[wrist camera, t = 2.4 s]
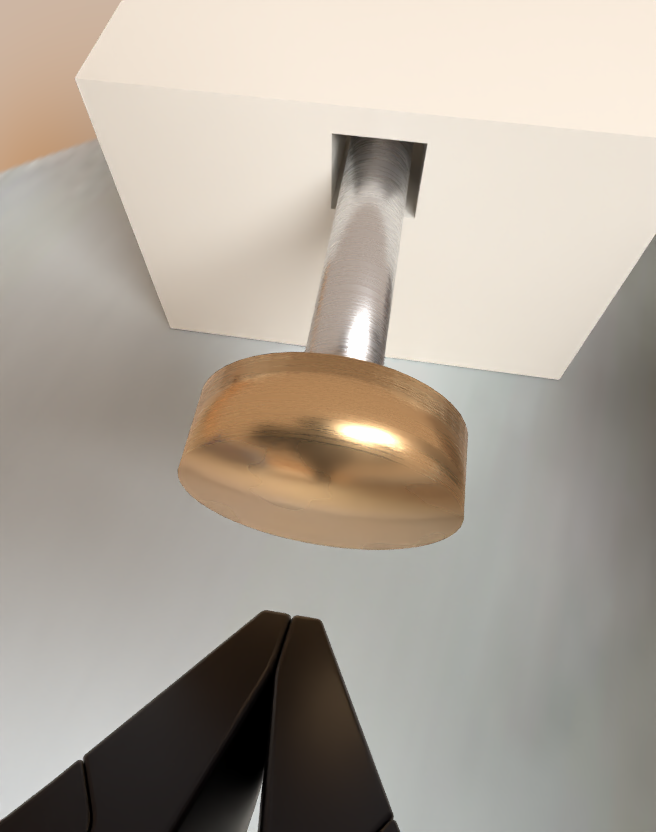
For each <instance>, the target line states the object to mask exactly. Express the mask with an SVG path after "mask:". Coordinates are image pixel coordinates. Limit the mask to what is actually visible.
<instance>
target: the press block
mask: <svg viewBox="0 0 656 832" xmlns="http://www.w3.org/2000/svg"><path fill="white" fill-rule="evenodd" d="M75 81H76V83H77V86H78V89H79V91H80V94H81V96H82V99H83V102H84V104H85V107H86V109H87V112H88V114H89V117H90V120H91V122H92V125H93V128H94V130H95V133H96V135H97V138H98V141H99V143H100V146H101V149H102V151H103V154H104V156H105V159H106V162H107V164H108V167H109V169H110V172H111V175H112V177H113V180H114V182H115V185H116V188H117V190H118V193H119V195H120V198H121V201H122V203H123V206H124V208H125V211H126V214H127V216H128V219H129V221H130V224H131V227H132V229H133V232H134V234H135V237H136V240H137V242H138V245H139V247H140V250H141V253H142V255H143V258H144V260H145V263H146V266H147V268H148V271H149V273H150V276H151V279H152V281H153V284H154V286H155V289H156V292H157V294H158V297H159V300H160V302H161V305H162V307H163V310H164V313H165V315H166V318H167V320H168V323H169V326H170V328H172V329H180V330H188V331H195V332H203V333H210V334H218V335H225V336H233V337H240V338H248V339H255V340H263V341H270V342H278V343H285V344H293V345H300V346H306V345H307V340H308V336H309V331H310V326H311V322H312V317H313V312H314V308H315V303H316V298H317V294H318V289H319V284H320V280H321V275H322V271H323V266H324V261H325V257H326V252H327V247H328V243H329V238H330V233H331V229H332V224H333V219H334V215H335V210H336V206H337V201H338V196H339V192H340V187H341V182H342V178H343V173H344V168H345V164H346V159H347V154H348V150H349V145H350V140H351V136H362V137H371V138H381V139H390V140H399V141H409V142H414V145H413V152H412V159H411V167H410V174H409V181H408V189H407V196H406V204H405V211H404V218H403V226H402V233H401V240H400V248H399V255H398V262H397V270H396V277H395V284H394V292H393V299H392V306H391V314H390V321H389V328H388V336H387V343H386V350H385V357H391V358H398V359H406V360H413V361H421V362H429V363H436V364H444V365H451V366H459V367H466V368H474V369H481V370H489V371H496V372H504V373H511V374H519V375H526V376H534V377H541V378H549V379H557V380H560V378H561V377H562V375H563V373H564V372H565V370H566V369H567V367H568V366H569V364H570V363H571V361H572V360H573V358H574V357H575V355H576V354H577V352H578V351H579V349H580V348H581V346H582V345H583V343H584V342H585V340H586V339H587V337H588V336H589V334H590V332H591V331H592V329H593V328H594V326H595V325H596V323H597V322H598V320H599V319H600V317H601V316H602V314H603V313H604V311H605V310H606V308H607V307H608V305H609V304H610V302H611V301H612V299H613V298H614V296H615V295H616V293H617V291H618V290H619V288H620V287H621V285H622V284H623V282H624V281H625V279H626V278H627V276H628V275H629V273H630V272H631V270H632V269H633V267H634V266H635V264H636V263H637V261H638V260H639V258H640V257H641V255H642V254H643V252H644V251H645V249H646V247H647V246H648V244H649V243H650V241H651V240H652V238H653V237H654V235H655V234H656V0H122V1H121V2H120V4H119V6H118V7H117V9H116V11H115V12H114V14H113V16H112V17H111V19H110V21H109V22H108V24H107V26H106V27H105V29H104V31H103V32H102V34H101V35H100V37H99V39H98V40H97V42H96V44H95V45H94V47H93V49H92V50H91V52H90V54H89V55H88V57H87V59H86V60H85V62H84V64H83V65H82V67H81V69H80V70H79V72H78V73H77V75H76V77H75Z"/></svg>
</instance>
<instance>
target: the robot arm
mask: <svg viewBox="0 0 656 832" xmlns="http://www.w3.org/2000/svg"><path fill="white" fill-rule="evenodd" d="M262 781H263V783H262ZM261 785H262V793H261V802H260V813H259V823H258V832H400V830H399V828H398V825H397V823H396V821H395V820H393V817H394V816H393V812H392V810H391V807H390V804H389V801H388V799H387V796H386V793H385V791H384V788H383V785H382V782H381V780H380V777H379V774H378V772H377V769H376V766H375V764H374V761H373V758H372V755H371V753H370V750H369V747H368V745H367V742H366V739H365V736H364V734H363V731H362V728H361V726H360V723H359V720H358V718H357V715H356V712H355V709H354V707H353V704H352V701H351V699H350V696H349V693H348V690H347V688H346V685H345V682H344V680H343V677H342V674H341V672H340V669H339V666H338V663H337V661H336V658H335V655H334V653H333V650H332V647H331V644H330V642H329V639H328V636H327V634H326V631H325V628H324V626H323V623H322V621H321V620H319V619H316V618H310V617H304V616H294V617H293V618H292V619H291V616H290V615H289V614H286V613H280V612H274V611H268V610H264V611H262V612H260V613H259V614H258V615H257V616H255V617H254V618H253V619H252V620H250V621H249V622H248V623H247V624H245V625H244V626H243V627H242V628H240V629H239V630H238V631H237V632H236V633H234V634H233V635H232V636H231V637H229V638H228V639H227V640H226V641H224V642H223V643H222V644H221V645H220V646H218V647H217V648H216V649H215V650H213V651H212V652H211V653H210V654H208V655H207V656H206V657H205V658H204V659H202V660H201V661H200V662H199V663H197V664H196V665H195V666H194V667H192V668H191V669H190V670H189V671H188V672H186V673H185V674H184V675H183V676H181V677H180V678H179V679H178V680H176V681H175V682H174V683H173V684H172V685H170V686H169V687H168V688H167V689H165V690H164V691H163V692H162V693H160V694H159V695H158V696H157V697H156V698H154V699H153V700H152V701H151V702H149V703H148V704H147V705H146V706H144V707H143V708H142V709H141V710H139V711H138V712H137V713H136V714H135V715H133V716H132V717H131V718H130V719H128V720H127V721H126V722H125V723H123V724H122V725H121V726H120V727H119V728H117V729H116V730H115V731H114V732H112V733H111V734H110V735H109V736H107V737H106V738H105V739H104V740H103V741H101V742H100V743H99V744H98V745H96V746H95V747H94V748H93V749H91V750H90V751H89V752H88V753H87V754H85V755H84V757H83V761H82V760H78V761H76V762H75V763H74V764H73V765H71V766H70V767H69V768H68V769H66V770H65V771H64V772H63V773H61V774H60V775H59V776H58V777H57V778H55V779H54V780H53V781H52V782H50V783H49V784H48V785H46V786H45V787H44V788H43V789H41V790H40V791H39V792H37V793H36V794H35V795H33V796H32V797H31V798H30V799H28V800H27V801H26V802H24V803H23V804H22V805H21V806H19V807H18V808H17V809H15V810H14V811H13V812H11V813H10V814H9V815H8V816H6V817H5V818H3V819H2V820H1V821H0V832H247V829H248V826H249V823H250V820H251V817H252V814H253V811H254V808H255V805H256V802H257V798H258V795H259V792H260V789H261Z"/></svg>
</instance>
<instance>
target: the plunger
mask: <svg viewBox="0 0 656 832" xmlns="http://www.w3.org/2000/svg"><path fill="white" fill-rule="evenodd" d="M413 145H414V142H409V141H399V140H390V139H381V138H371V137H362V136H351V140H350V145H349V150H348V154H347V159H346V164H345V168H344V173H343V178H342V182H341V187H340V192H339V196H338V201H337V206H336V210H335V215H334V219H333V224H332V229H331V233H330V238H329V243H328V247H327V252H326V257H325V261H324V266H323V271H322V275H321V280H320V284H319V289H318V294H317V298H316V303H315V308H314V312H313V317H312V322H311V326H310V331H309V336H308V340H307V345H306V350H305V352H285V353H271V354H265V355H258V356H253V357H249V358H246V359H242V360H239V361H236V362H234V363H231V364H229V365H227V366H225V367H223V368H222V369H220V370H218V371H217V372H215V373H214V374H213V375H212V376H211V377H210V378H209V379H208V380H207V382H206V383H205V385H204V386H203V389H202V392H201V396H200V399H199V402H198V405H197V409H196V412H195V415H194V418H193V422H192V425H191V428H190V432H189V435H188V438H187V441H186V445H185V448H184V451H183V455H182V458H181V461H180V464H179V468H178V478H179V480H180V482H181V484H182V486H183V487H184V488H185V490H186V491H187V492H188V493H189V494H190V495H191V496H192V497H193V498H194V499H196V500H197V501H198V502H200V503H201V504H203V505H204V506H206V507H207V508H209V509H210V510H212V511H214V512H216V513H218V514H220V515H222V516H224V517H226V518H228V519H230V520H232V521H235V522H237V523H240V524H242V525H245V526H247V527H250V528H253V529H256V530H259V531H262V532H266V533H269V534H272V535H276V536H280V537H284V538H288V539H292V540H296V541H301V542H306V543H312V544H317V545H324V546H331V547H340V548H350V549H367V550H388V549H404V548H412V547H419V546H424V545H428V544H432V543H435V542H438V541H441V540H443V539H445V538H448V537H449V536H451V535H452V534H454V533H455V532H456V531H457V530H458V529H459V528H460V527H461V525H462V523H463V520H464V501H465V482H466V462H467V442H468V432H467V428H466V424H465V422H464V420H463V418H462V416H461V414H460V413H459V412H458V411H457V409H456V408H455V407H454V406H453V405H452V404H451V403H450V402H449V401H448V400H447V399H446V398H445V397H443V396H442V395H441V394H440V393H438V392H437V391H435V390H434V389H432V388H431V387H429V386H428V385H426V384H424V383H422V382H420V381H418V380H417V379H415V378H413V377H410V376H408V375H406V374H403V373H401V372H399V371H396V370H394V369H391V368H388V367H385V366H383V365H384V358H385V350H386V343H387V336H388V328H389V321H390V314H391V306H392V299H393V292H394V284H395V277H396V270H397V262H398V255H399V248H400V240H401V233H402V226H403V218H404V211H405V204H406V196H407V189H408V181H409V174H410V167H411V159H412V152H413Z"/></svg>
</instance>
